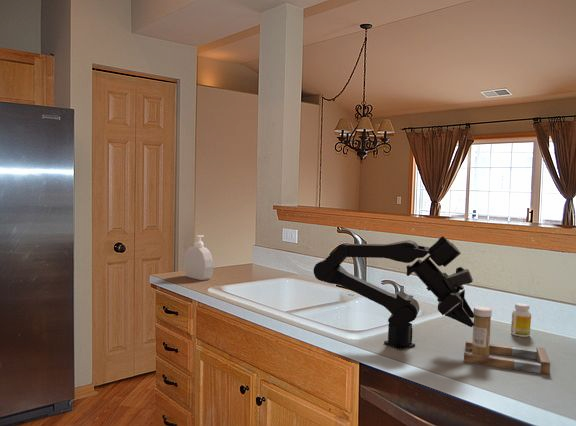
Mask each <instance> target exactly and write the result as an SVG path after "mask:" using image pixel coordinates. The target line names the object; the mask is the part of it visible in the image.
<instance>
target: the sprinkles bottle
mask: <svg viewBox="0 0 576 426" xmlns="http://www.w3.org/2000/svg"><path fill="white" fill-rule="evenodd" d="M472 311H473V314H474V318H473V323H474V326H472V328H473V329H472V341H471V342H472V343H473V348H472V350H471V354H478V355H485V356H490V353H489V347H490V344H491V318H492V315H493V314H492V313H493V310H492V308H490V307H487V306H482V305H481V306H480V305H478V306H474V307H473V310H472Z"/></svg>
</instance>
